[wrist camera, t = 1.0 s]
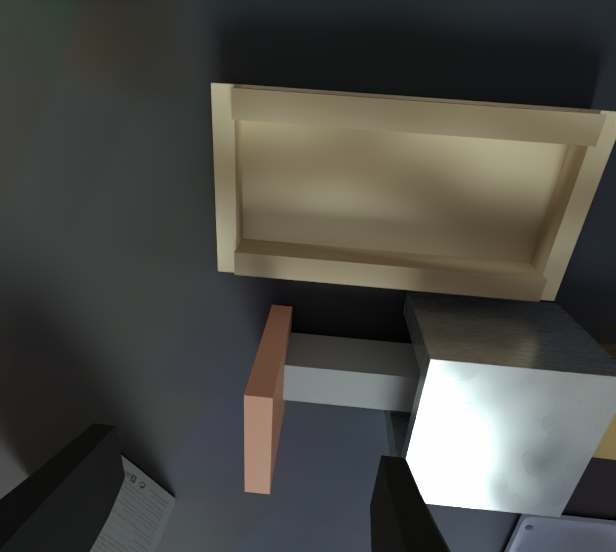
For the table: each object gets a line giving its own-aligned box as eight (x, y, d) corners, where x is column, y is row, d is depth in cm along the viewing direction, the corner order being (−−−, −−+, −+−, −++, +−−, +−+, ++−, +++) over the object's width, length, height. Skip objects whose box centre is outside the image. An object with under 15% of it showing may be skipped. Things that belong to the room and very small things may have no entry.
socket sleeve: (511, 423, 22) (559, 517, 17) (384, 410, 22) (396, 499, 17) (558, 303, 19) (633, 378, 14) (407, 290, 19) (430, 359, 14)
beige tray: (532, 279, 18) (558, 305, 16) (229, 253, 19) (215, 275, 17) (591, 109, 15) (633, 113, 13) (225, 83, 16) (207, 82, 13)
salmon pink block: (418, 399, 21) (446, 513, 16) (269, 384, 22) (244, 491, 16) (437, 319, 19) (478, 418, 13) (271, 304, 19) (243, 395, 14)
